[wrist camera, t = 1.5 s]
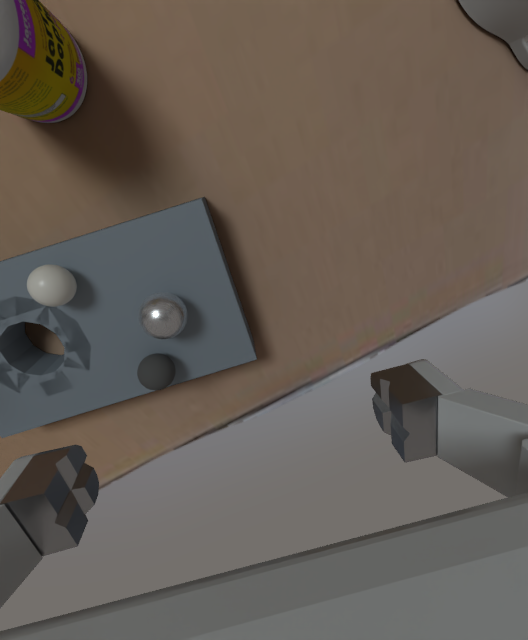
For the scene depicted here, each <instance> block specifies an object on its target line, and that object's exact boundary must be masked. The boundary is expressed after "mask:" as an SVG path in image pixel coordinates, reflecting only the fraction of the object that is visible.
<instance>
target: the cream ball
mask: <svg viewBox="0 0 528 640" xmlns="http://www.w3.org/2000/svg"><path fill="white" fill-rule="evenodd" d="M27 289H28V292H29V294H30V295H31V297H32V298H33V299H34V300H35V301H37V302H38V303H40V304H42V305H45V306H50V307H56V306H61V305H64V304H66V303H68V302H69V301H70V300H71V299H72V298H73V297H74V295H75V293H76V289H77V284H76V280H75V278H74V276H73V275H72V274H71V273H70V272H69V271H68V270H67V269H65V268H63V267H61V266H58V265H51V264H50V265H43V266H40V267H38V268H36V269H35V270H33V271H32V272H31V274H30V275H29V277H28V280H27Z"/></svg>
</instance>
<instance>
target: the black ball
mask: <svg viewBox="0 0 528 640" xmlns="http://www.w3.org/2000/svg"><path fill="white" fill-rule="evenodd" d="M175 373H176V369H175V365H174V363H173V361H172V360H171V359H170V358H169V357H168V356H166V355H164V354H159V353H156V354H151V355H148V356H147V357H145V358H144V359H143V360H142V361H141V362H140V364H139V366H138V370H137V376H138V379H139V381H140V383H141V384H142V385H143V386H144V387H145V388H147V389H150V390H161V389H164V388H166V387H167V386H169V385H170V384H171V383H172V381H173V380H174V377H175Z"/></svg>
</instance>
